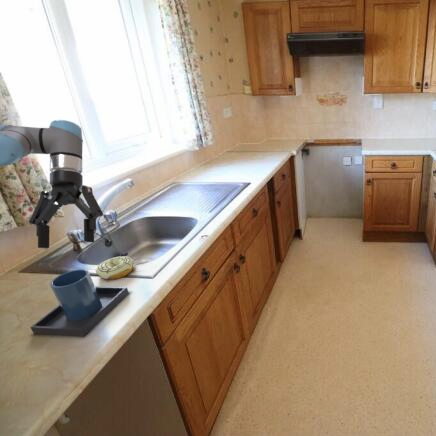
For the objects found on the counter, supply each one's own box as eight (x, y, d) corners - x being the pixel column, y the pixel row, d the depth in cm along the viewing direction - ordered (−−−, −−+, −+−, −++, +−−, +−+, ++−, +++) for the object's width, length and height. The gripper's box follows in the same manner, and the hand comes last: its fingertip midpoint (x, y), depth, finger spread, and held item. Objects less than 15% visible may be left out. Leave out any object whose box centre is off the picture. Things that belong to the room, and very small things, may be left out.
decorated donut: (104, 286, 100) (99, 276, 99) (95, 273, 107) (91, 263, 106) (139, 271, 107) (136, 261, 105) (129, 260, 114) (125, 250, 112)
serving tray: (85, 292, 98) (83, 285, 97) (129, 293, 96) (126, 287, 95) (33, 334, 82) (30, 327, 81) (84, 336, 81) (81, 329, 80)
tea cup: (66, 309, 90) (50, 277, 85) (100, 297, 94) (87, 265, 90) (67, 325, 84) (50, 291, 79) (103, 311, 89) (89, 278, 84)
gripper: (116, 171, 98) (117, 240, 95) (38, 182, 99) (37, 250, 96) (97, 163, 90) (98, 238, 87) (13, 175, 91) (11, 249, 88)
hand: (66, 245), depth 91 cm, fingers open, 13 cm apart
